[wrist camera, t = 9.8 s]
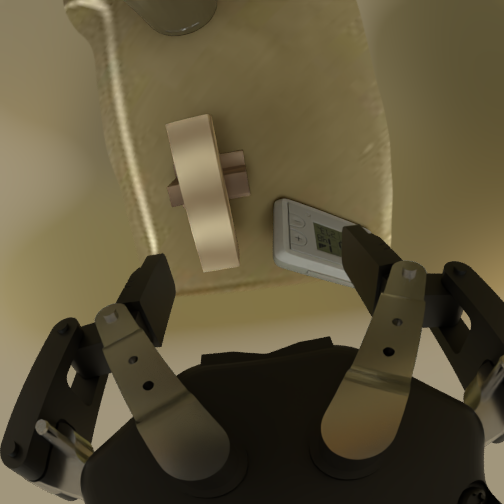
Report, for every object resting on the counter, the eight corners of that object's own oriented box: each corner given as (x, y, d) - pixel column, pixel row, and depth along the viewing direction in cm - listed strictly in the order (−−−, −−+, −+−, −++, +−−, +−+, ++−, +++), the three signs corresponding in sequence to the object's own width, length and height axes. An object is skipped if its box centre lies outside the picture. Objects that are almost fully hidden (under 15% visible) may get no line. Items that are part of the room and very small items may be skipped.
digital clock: (373, 232, 40) (407, 267, 30) (339, 276, 43) (363, 319, 34) (289, 176, 35) (308, 198, 26) (254, 230, 39) (260, 269, 29)
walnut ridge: (174, 163, 33) (163, 172, 28) (242, 150, 33) (243, 155, 28) (184, 206, 36) (175, 221, 31) (250, 194, 36) (252, 207, 31)
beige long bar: (174, 123, 26) (165, 124, 22) (211, 114, 26) (207, 113, 22) (206, 255, 33) (203, 272, 30) (239, 249, 33) (239, 266, 30)
